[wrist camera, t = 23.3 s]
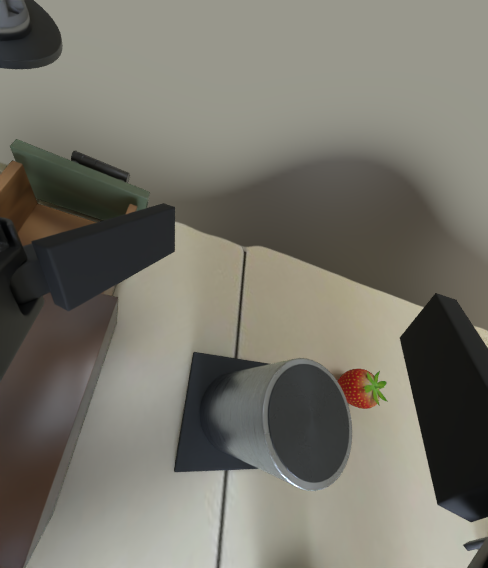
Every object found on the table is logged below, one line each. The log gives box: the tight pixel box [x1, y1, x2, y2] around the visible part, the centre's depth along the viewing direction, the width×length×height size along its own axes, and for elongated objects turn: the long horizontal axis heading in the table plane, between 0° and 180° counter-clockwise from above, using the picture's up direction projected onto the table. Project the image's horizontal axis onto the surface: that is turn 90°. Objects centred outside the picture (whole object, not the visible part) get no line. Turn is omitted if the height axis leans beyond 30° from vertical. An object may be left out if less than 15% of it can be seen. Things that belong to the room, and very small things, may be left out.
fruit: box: [337, 369, 388, 409], centre depth 35 cm, size 5×5×8 cm
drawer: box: [0, 139, 150, 296], centre depth 25 cm, size 20×12×7 cm, turn 175°
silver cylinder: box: [200, 358, 352, 491], centre depth 23 cm, size 8×8×14 cm
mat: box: [174, 352, 269, 472], centre depth 29 cm, size 12×12×1 cm
